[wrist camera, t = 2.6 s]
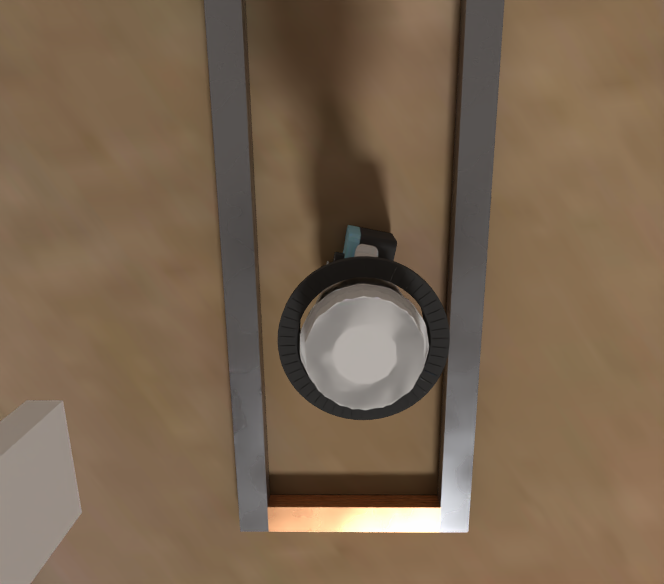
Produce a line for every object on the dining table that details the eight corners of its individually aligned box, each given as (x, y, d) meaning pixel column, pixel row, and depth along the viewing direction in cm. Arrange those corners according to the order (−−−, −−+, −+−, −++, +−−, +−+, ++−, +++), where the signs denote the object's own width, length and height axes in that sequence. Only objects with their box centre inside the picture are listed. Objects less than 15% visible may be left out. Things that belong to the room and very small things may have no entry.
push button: (391, 362, 26) (421, 487, 16) (286, 342, 26) (253, 456, 16) (423, 231, 24) (477, 285, 15) (311, 209, 24) (290, 249, 14)
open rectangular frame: (243, 518, 28) (240, 531, 28) (205, -67, 21) (198, -78, 20) (463, 519, 28) (468, 532, 27) (502, -74, 21) (510, -84, 20)
